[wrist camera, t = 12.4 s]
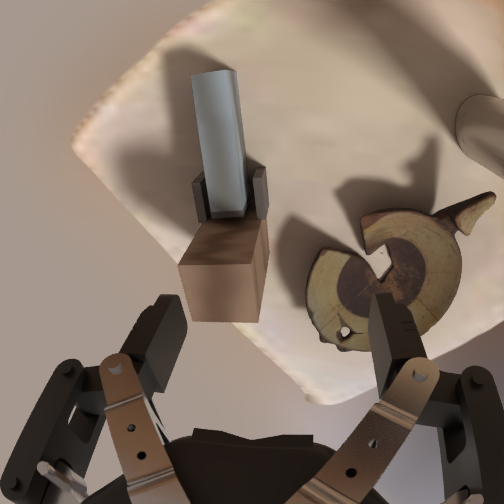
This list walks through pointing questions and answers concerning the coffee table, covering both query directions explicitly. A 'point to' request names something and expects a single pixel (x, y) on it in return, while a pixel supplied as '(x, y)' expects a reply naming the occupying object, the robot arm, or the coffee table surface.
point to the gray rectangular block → (222, 142)
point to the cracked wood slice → (392, 270)
